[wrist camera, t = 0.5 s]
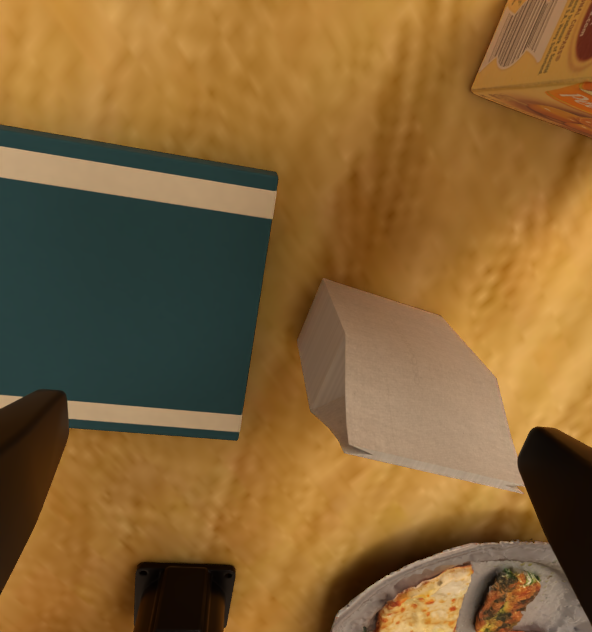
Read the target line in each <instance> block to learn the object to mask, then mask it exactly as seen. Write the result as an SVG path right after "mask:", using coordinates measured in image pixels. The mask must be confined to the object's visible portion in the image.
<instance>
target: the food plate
mask: <svg viewBox="0 0 592 632" xmlns="http://www.w3.org/2000/svg"><path fill="white" fill-rule="evenodd" d="M514 540H517V541H516V542H514V541H511V542H508V541H505V542H503V541H500V542H499V543H495V542H491V543H468V544H464V545H461V546H458V547H455V548H454V547H453V548H450V549H447V550H444V551H443V553H439V554H438V553H437V554H434V555H433V556H432V557H427V558H426V559H424V560H418V561H416V562H414V563H413V564H412V563H411V564H409V565H405V566H403V568H402V569H399V570H397V571H395V572H392V573H390V575H386V576H385V577H383V579H381V580H378V581H377V582H376V583H374V584H372V585H371V586H369V587H368V588H367V589H365V590H364V591H365V592H364V591H363V592H362V593H360V594H359V596H358V595H357V596H356V597H355V598H353V599H352V600H351V601H350V602H349V604H347V605H346V606H345V607H343V608H342V609H341V610H339V611H338V614H337V613H336V618H334V619H335V621H334V623H333V625H332V629H331V632H592V626H591V624H590V622H589V620H588V618H587V616H586V614H585V612H584V610H583V608H582V607H581V605H580V603H579V601H578V599H577V597H576V595H575V593H574V591H573V589H572V587H571V585H570V583H569V581H568V579H567V578H566V576H565V574H564V572H563V570H562V568H561V566H560V564H559V562H558V560H557V558H556V556H555V554H554V552H553V550H552V548H551V546H550V544H549V543H546V542H545V543H543V542H540V541H535V543H533V542H529V543H528V542H527V541H525V542H519V541H520V540H519V539H514ZM531 540H532V539H531Z"/></svg>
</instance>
